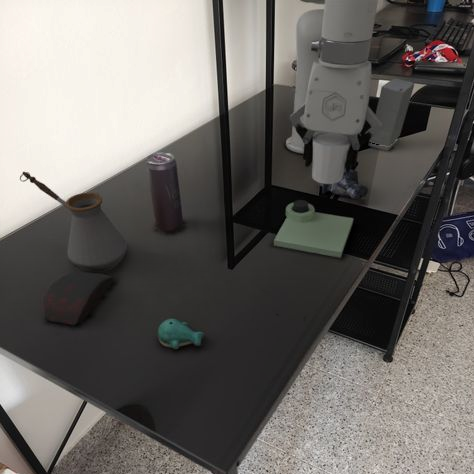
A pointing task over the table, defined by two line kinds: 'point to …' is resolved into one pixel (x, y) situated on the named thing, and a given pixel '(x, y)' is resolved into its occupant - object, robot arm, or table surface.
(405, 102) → the cosmetic box
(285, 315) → the table surface
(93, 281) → the computer mouse
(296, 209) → the button
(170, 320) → the whale figurine
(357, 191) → the dark statue fragment
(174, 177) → the beverage can
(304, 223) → the scale
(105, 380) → the table surface
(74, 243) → the coffee pot
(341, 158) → the grey cup
